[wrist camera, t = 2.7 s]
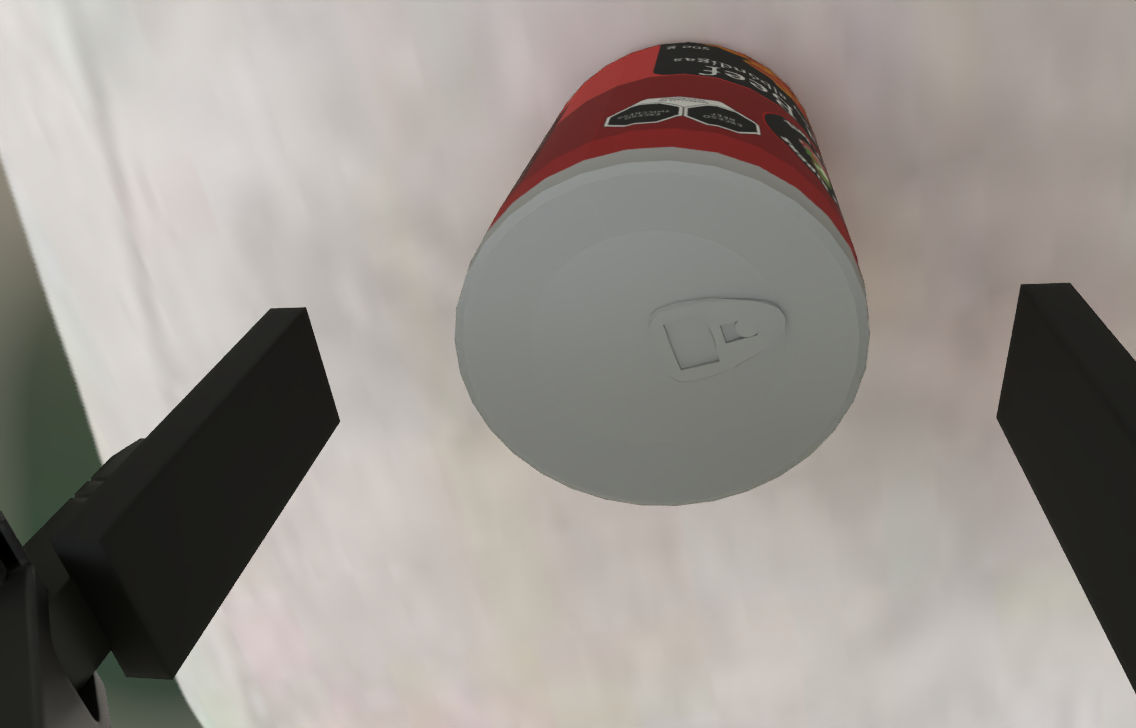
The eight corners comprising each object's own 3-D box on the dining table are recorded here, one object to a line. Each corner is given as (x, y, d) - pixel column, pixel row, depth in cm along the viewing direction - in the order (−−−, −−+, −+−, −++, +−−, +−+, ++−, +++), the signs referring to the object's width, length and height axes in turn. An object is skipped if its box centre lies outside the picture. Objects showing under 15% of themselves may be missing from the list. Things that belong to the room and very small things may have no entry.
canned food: (863, 198, 25) (949, 406, 15) (642, 327, 28) (604, 561, 19) (722, -30, 22) (723, 55, 13) (498, 143, 26) (371, 309, 16)
